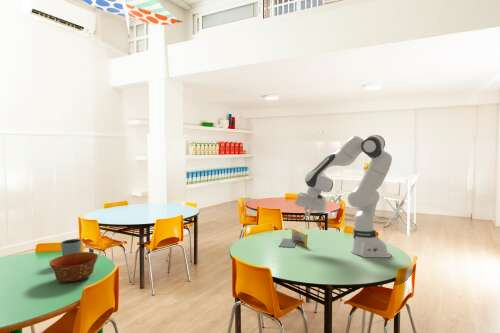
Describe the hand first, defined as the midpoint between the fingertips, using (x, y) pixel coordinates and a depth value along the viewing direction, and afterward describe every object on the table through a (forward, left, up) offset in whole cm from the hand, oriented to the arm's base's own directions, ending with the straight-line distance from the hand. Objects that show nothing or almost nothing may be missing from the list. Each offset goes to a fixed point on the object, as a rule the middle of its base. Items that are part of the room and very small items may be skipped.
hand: (306, 215), depth 214 cm
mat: (+12, -3, -20) cm, 24 cm away
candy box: (+5, -3, -20) cm, 21 cm away
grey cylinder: (+126, +63, -20) cm, 143 cm away
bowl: (+106, +83, -20) cm, 137 cm away
